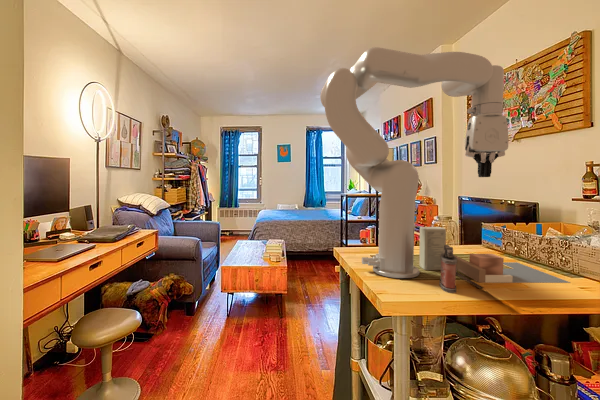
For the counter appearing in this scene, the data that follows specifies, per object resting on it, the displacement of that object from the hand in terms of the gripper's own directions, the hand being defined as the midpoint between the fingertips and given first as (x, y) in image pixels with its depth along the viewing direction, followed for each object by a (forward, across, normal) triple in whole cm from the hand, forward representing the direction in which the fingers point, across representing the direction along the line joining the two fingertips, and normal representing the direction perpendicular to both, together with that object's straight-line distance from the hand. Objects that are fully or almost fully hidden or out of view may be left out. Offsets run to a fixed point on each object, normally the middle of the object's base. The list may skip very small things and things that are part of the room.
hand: (484, 176), depth 86 cm
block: (+26, -5, -10) cm, 28 cm away
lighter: (+27, -17, -15) cm, 35 cm away
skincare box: (+27, -14, +1) cm, 31 cm away
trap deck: (+27, +1, -7) cm, 28 cm away
